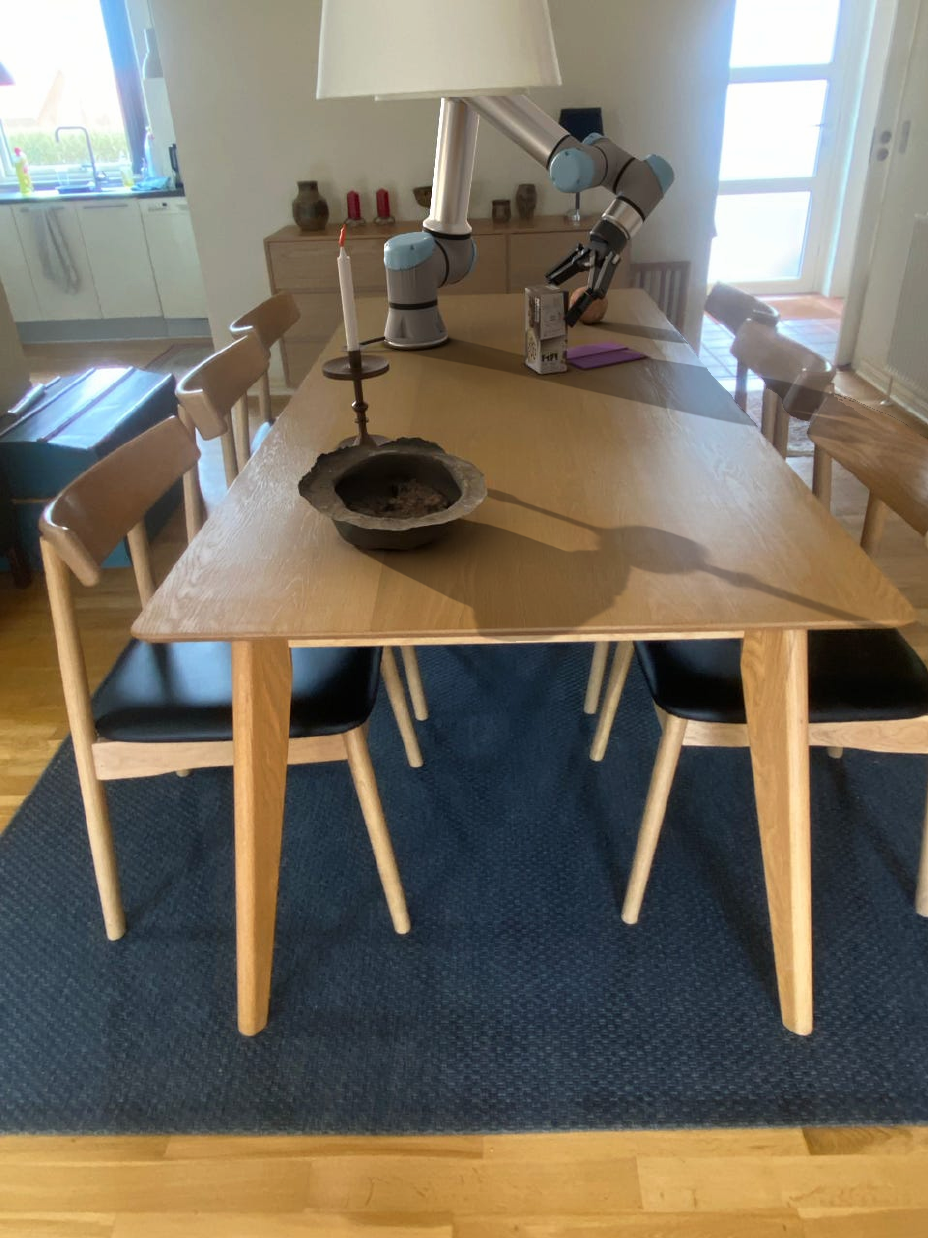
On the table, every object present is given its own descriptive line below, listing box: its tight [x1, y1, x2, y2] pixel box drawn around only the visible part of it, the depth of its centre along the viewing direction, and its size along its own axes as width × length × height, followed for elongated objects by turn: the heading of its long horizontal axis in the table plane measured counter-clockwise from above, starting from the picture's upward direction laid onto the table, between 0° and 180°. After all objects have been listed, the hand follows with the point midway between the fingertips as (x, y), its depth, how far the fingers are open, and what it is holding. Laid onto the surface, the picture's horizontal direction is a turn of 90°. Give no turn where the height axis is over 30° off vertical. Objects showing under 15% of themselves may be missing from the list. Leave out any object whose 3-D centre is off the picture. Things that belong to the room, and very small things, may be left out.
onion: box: [569, 284, 609, 325], centre depth 205 cm, size 10×9×10 cm
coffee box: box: [524, 283, 570, 375], centre depth 172 cm, size 9×6×16 cm
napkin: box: [567, 340, 648, 370], centre depth 182 cm, size 16×14×1 cm
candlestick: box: [321, 223, 392, 449], centre depth 131 cm, size 11×11×35 cm
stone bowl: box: [297, 436, 488, 551], centre depth 112 cm, size 25×25×9 cm
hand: (549, 316), depth 171 cm, fingers open, 13 cm apart
